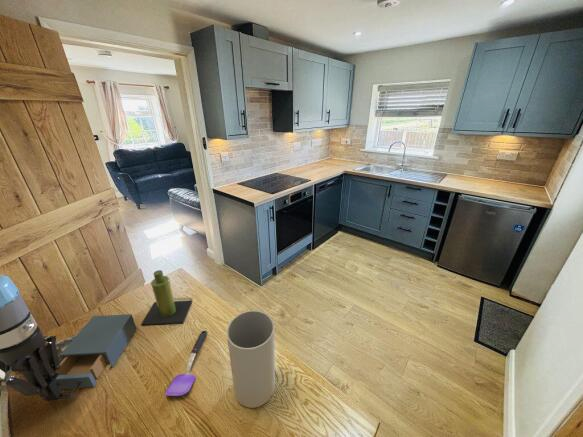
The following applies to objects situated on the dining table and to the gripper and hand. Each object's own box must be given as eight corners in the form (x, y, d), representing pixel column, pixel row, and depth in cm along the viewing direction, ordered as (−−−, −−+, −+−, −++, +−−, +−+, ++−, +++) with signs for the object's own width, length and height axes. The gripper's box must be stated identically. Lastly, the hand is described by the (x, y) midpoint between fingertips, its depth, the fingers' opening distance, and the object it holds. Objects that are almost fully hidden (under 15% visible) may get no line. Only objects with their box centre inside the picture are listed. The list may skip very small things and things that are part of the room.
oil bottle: (157, 317, 96) (145, 277, 88) (163, 306, 102) (153, 267, 94) (172, 316, 97) (163, 277, 88) (178, 305, 102) (169, 267, 94)
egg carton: (87, 339, 87) (83, 331, 86) (78, 358, 81) (74, 349, 79) (50, 348, 84) (45, 340, 82) (38, 367, 78) (33, 359, 76)
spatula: (197, 331, 92) (196, 327, 91) (214, 332, 92) (213, 327, 91) (164, 400, 70) (162, 395, 69) (187, 401, 70) (185, 396, 69)
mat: (141, 326, 93) (140, 324, 93) (154, 303, 104) (154, 302, 104) (183, 323, 95) (182, 322, 94) (192, 302, 106) (191, 300, 105)
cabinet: (112, 367, 78) (105, 352, 75) (68, 370, 77) (59, 354, 74) (136, 328, 92) (131, 314, 89) (99, 330, 91) (93, 315, 88)
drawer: (85, 405, 67) (78, 392, 65) (38, 408, 66) (29, 396, 64) (122, 346, 84) (117, 334, 82) (85, 348, 83) (79, 336, 81)
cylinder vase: (258, 359, 82) (255, 304, 72) (283, 387, 74) (283, 328, 64) (226, 385, 74) (218, 327, 64) (249, 419, 66) (244, 359, 55)
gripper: (4, 362, 50) (49, 425, 59) (56, 314, 61) (86, 373, 71) (-35, 364, 49) (16, 427, 59) (25, 315, 61) (59, 374, 70)
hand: (55, 397), depth 65 cm, fingers closed
